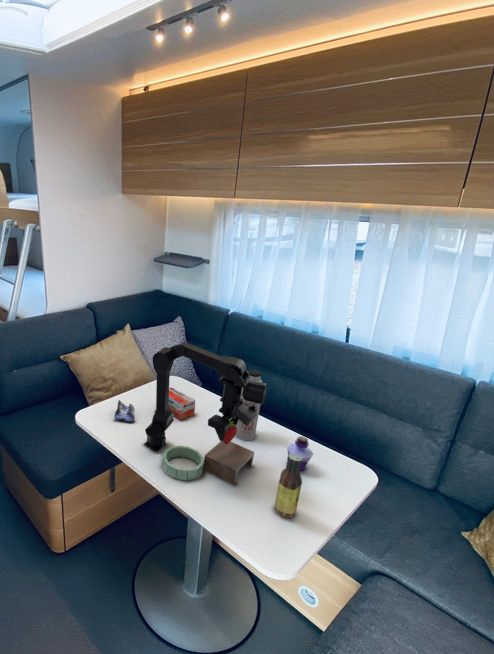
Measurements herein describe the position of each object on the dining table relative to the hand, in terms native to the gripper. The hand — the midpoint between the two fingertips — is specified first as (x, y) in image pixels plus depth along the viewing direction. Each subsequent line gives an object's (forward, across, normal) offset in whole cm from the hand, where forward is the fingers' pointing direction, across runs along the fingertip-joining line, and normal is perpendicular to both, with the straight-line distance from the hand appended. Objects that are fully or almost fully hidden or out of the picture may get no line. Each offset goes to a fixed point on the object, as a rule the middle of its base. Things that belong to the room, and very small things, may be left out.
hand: (226, 436), depth 141 cm
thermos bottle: (+14, +26, +4) cm, 29 cm away
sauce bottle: (+14, -5, -24) cm, 28 cm away
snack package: (+13, +2, +48) cm, 50 cm away
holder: (+13, -10, +11) cm, 19 cm away
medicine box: (+13, +21, +35) cm, 43 cm away
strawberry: (+3, 0, 0) cm, 3 cm away
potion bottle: (+14, +20, -19) cm, 31 cm away
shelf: (+13, +2, -1) cm, 13 cm away
